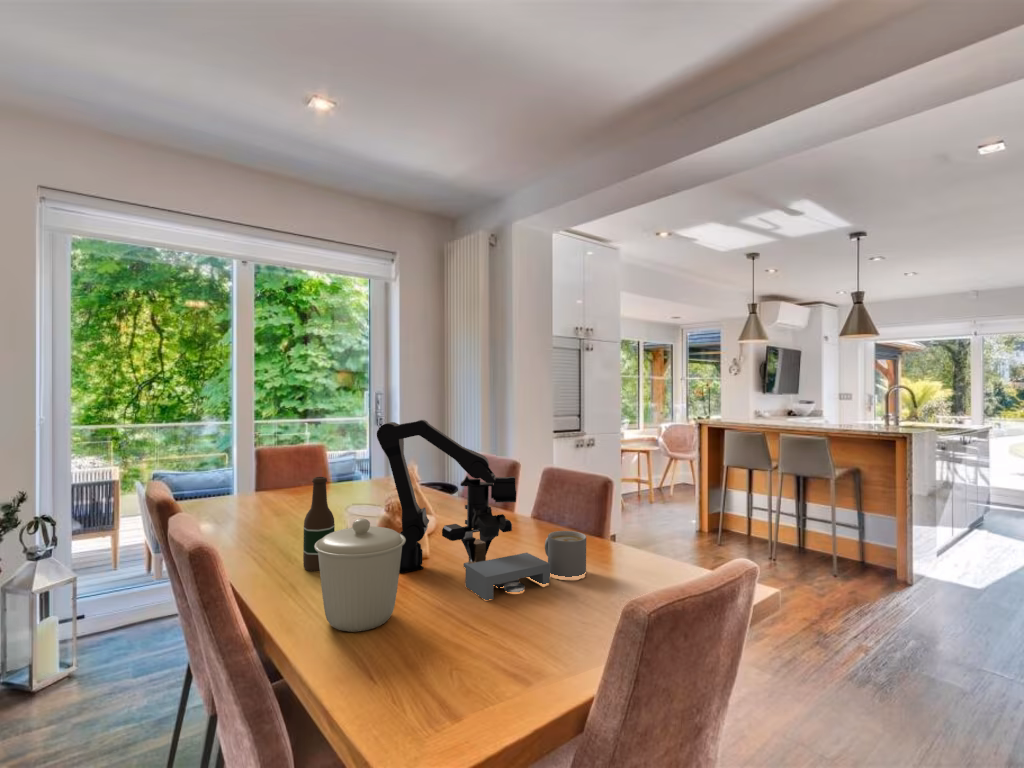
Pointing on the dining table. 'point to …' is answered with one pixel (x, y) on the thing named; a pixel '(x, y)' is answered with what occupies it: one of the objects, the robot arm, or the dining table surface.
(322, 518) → the beer bottle
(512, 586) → the steel disc
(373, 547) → the canister
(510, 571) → the low shelf
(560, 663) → the dining table surface
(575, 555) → the coffee mug
